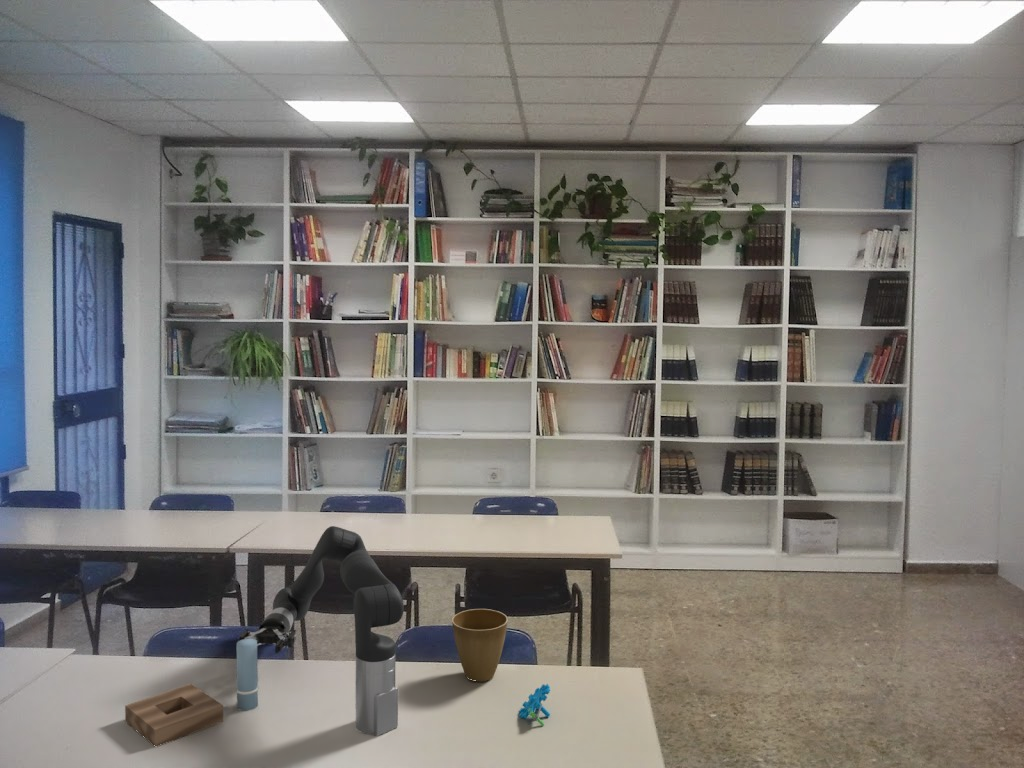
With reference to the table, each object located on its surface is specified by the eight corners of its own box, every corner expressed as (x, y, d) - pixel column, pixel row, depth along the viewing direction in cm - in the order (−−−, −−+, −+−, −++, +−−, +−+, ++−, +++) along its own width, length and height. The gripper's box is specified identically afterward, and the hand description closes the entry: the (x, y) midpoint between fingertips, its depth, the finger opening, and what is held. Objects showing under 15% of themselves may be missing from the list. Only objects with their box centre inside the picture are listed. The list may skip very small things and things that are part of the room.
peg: (262, 705, 199) (261, 642, 198) (243, 712, 196) (242, 648, 194) (251, 698, 203) (250, 636, 201) (233, 705, 199) (232, 642, 198)
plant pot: (457, 663, 226) (458, 607, 225) (510, 666, 224) (511, 610, 223) (445, 686, 211) (446, 627, 210) (502, 691, 209) (503, 631, 208)
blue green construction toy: (521, 697, 202) (549, 675, 199) (538, 714, 202) (566, 692, 199) (512, 724, 192) (541, 701, 189) (529, 742, 192) (559, 719, 189)
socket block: (223, 721, 191) (222, 705, 191) (155, 747, 180) (155, 729, 179) (191, 699, 202) (191, 683, 202) (125, 722, 190) (125, 705, 190)
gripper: (250, 612, 225) (232, 635, 209) (302, 612, 226) (287, 635, 210) (251, 638, 226) (232, 663, 210) (302, 638, 226) (287, 663, 210)
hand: (260, 649), depth 210 cm, fingers open, 8 cm apart
